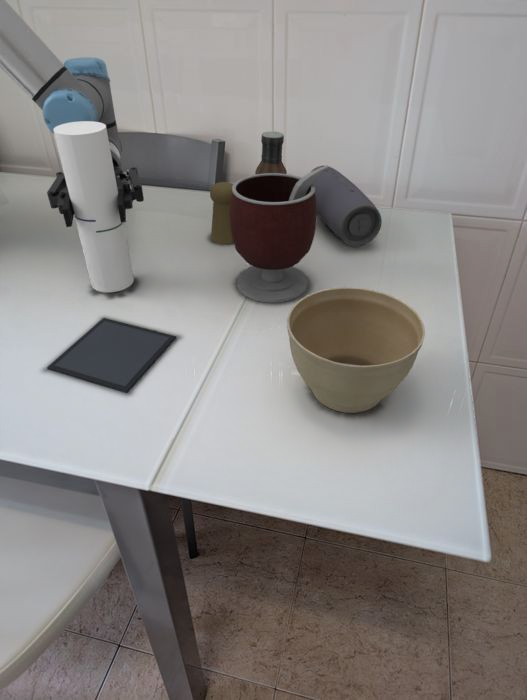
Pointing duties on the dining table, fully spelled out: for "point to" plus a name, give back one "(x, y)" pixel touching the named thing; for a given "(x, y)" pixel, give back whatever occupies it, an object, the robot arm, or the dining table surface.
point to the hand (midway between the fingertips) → (94, 215)
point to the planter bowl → (353, 345)
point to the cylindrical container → (95, 203)
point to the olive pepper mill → (221, 213)
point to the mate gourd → (273, 232)
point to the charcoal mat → (113, 354)
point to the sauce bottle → (271, 154)
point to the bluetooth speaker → (346, 208)
